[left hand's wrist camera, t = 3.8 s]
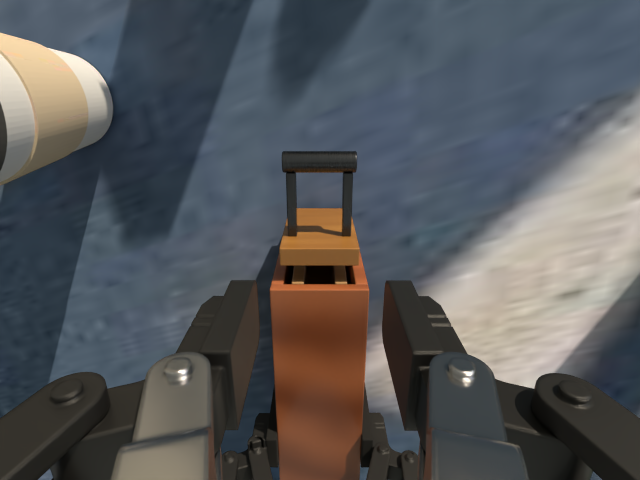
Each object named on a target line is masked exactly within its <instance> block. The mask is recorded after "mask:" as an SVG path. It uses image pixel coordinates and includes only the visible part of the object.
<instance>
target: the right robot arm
mask: <svg viewBox="0 0 640 480" xmlns="http://www.w3.org/2000/svg"><path fill="white" fill-rule="evenodd" d="M360 461H361V467H369V470H368V474H367V479H366V480H388V479H389V480H417V477H418V455H417V454H416V453H414V452H413V451H409V450H407V451H404V452H403V453H399V452H396V451H394V450H392V449H391V448H390V446H389V444H388V440H387V435H386V429H385V424H384V419H383V417H382V415H381V414H380V413H369V409H368V402H367V395H366V389H365V382H364V401H363V420H362V438H361V457H360ZM278 462H279V454H278V435H277V419H276V400H275V384H274V390H273V397H272V404H271V410H270V413H259V414H258V416H257V417H256V420H255V426H254V431H253V436H252V437H251V438H249V440H248V449H247V450H246V451H244V452H242V453H238V454H237V453H236V452H235V451H227V452H225V453H224V454H223V455H222V477H223V480H273V478H272V474H271V470H270V467H278Z"/></svg>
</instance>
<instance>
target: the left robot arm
mask: <svg viewBox="0 0 640 480" xmlns="http://www.w3.org/2000/svg"><path fill="white" fill-rule="evenodd" d="M259 334H260V323H259V307H258V292H257V283H256V281H255V280H231V282H230V284H229V286H228V288H227V290H226V292H225V295H224V296H213V297H212V298H210V299H209V300H208V301H206V302H205V303H204V304H202V305H201V307H200V309H199V311H198V313H197V315H196V318H194V320H193V322H192V324H191V326H190V328H189V329H188V331H187V333H186V335H185V337H184V339H183V340H182V342H181V344H180V346H179V348H178V350H177V352H176V353H175V354H172V355H169V356H167V357H165V358H163V359H161V360H159V361H158V362H156V363H155V364H154V365H153V366H152V367H151V368H150V369H149V371H148V372H147V374H146V377H145V380H142V381H139V382H135V383H131V384H127V385H122V386H118V387H113V388H109V389H107V386H106V382H105V379H104V378H103V377H102V376H101V375H99V374H97V373H93V372H80V373H74V374H70V375H67V376H64V377H61V378H59V379H57V380H55V381H53V382H51V383H49V384H48V385H46V386H45V387H43V388H42V389H40V390H39V391H38V392H36V393H35V394H33V395H32V396H31V397H29V398H28V399H27V400H25V401H24V402H22V403H21V404H20V405H18V406H17V407H15V408H14V409H13V410H11V411H10V412H8V413H7V414H6V415H4V416H3V417H1V418H0V480H38V479H39V478H40V477H41V476H42V475H43V474H44V473H45V472H46V471H47V470H48V469H49V468H50V470H51V473H52V475H53V479H52V480H223V477H222V453H221V443H222V439H223V436H224V432H225V430H238V427H239V423H240V419H241V415H242V411H243V406H244V402H245V398H246V394H247V390H248V386H249V381H250V377H251V373H252V369H253V365H254V360H255V356H256V352H257V348H258V343H259ZM382 336H383V344H384V348H385V352H386V357H387V361H388V365H389V369H390V373H391V377H392V381H393V385H394V389H395V393H396V397H397V401H398V405H399V409H400V413H401V417H402V421H403V426H404V430H405V431H418V433H419V437H420V445H419V453H418V477H417V480H590V478H591V475H592V472H593V471H594V472H595V473H596V474H597V475H598V476H599V477H600V478H601V479H602V480H640V418H639V417H637V416H636V415H634V414H633V413H632V412H630V411H629V410H627V409H626V408H625V407H623V406H622V405H620V404H619V403H618V402H616V401H615V400H613V399H612V398H611V397H609V396H608V395H607V394H605V393H604V392H602V391H601V390H600V389H598V388H597V387H595V386H594V385H592V384H590V383H588V382H587V381H584V380H582V379H580V378H577V377H574V376H571V375H567V374H561V373H549V374H545V375H542V376H541V377H539V378H538V380H537V381H536V385H535V389H532V388H528V387H523V386H519V385H514V384H510V383H506V382H502V381H499V380H497V379H495V377H494V374H493V372H492V371H491V369H490V368H489V367H488V366H487V365H486V364H485V363H484V362H482V361H481V360H479V359H477V358H475V357H473V356H471V355H468V354H467V352H466V351H465V349H464V347H463V345H462V343H461V342H460V340H459V338H458V336H457V334H456V332H455V331H454V329H453V327H451V323H450V322H449V320H448V318H446V314H445V312H444V311H443V309H442V307H441V305H439V304H438V303H437V302H436V301H434V300H433V299H432V298H430V297H429V296H418V294H417V292H416V290H415V288H414V286H413V284H412V282H411V281H386V283H385V292H384V307H383V321H382Z"/></svg>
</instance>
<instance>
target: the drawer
mask: <svg viewBox="0 0 640 480" xmlns="http://www.w3.org/2000/svg"><path fill="white" fill-rule="evenodd" d="M282 170H283V172H287V173H286V190H287V221H286V224H285V228H284V232H283V236H282V240H281V244H280V248H279V256H280V265H281V266H294V271H293V278H292V284H347V278H346V271H345V266H358V265H359V252H360V249H359V244H358V240H357V236H356V232H355V228H354V224H353V220H352V187H353V173H352V172H356V170H357V153H356V151H283V152H282ZM296 172H343V194H342V208H297V195H296Z"/></svg>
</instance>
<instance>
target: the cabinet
mask: <svg viewBox="0 0 640 480" xmlns="http://www.w3.org/2000/svg"><path fill="white" fill-rule="evenodd" d="M293 271H294V266H281V265H280V256H279V255H278V259H277V263H276V267H275V271H274V275H273V279H272V283H271V287H270V307H271V325H272V344H273V363H274V381H275V400H276V419H277V435H278V454H279V475H280V480H359V478H360V457H361V438H362V420H363V401H364V381H365V362H366V343H367V324H368V304H369V287H368V283H367V279H366V275H365V271H364V267H363V262H362V258H361V254H360V252H359V265H358V266H345V271H346V278H347V284H292V278H293Z"/></svg>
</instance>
